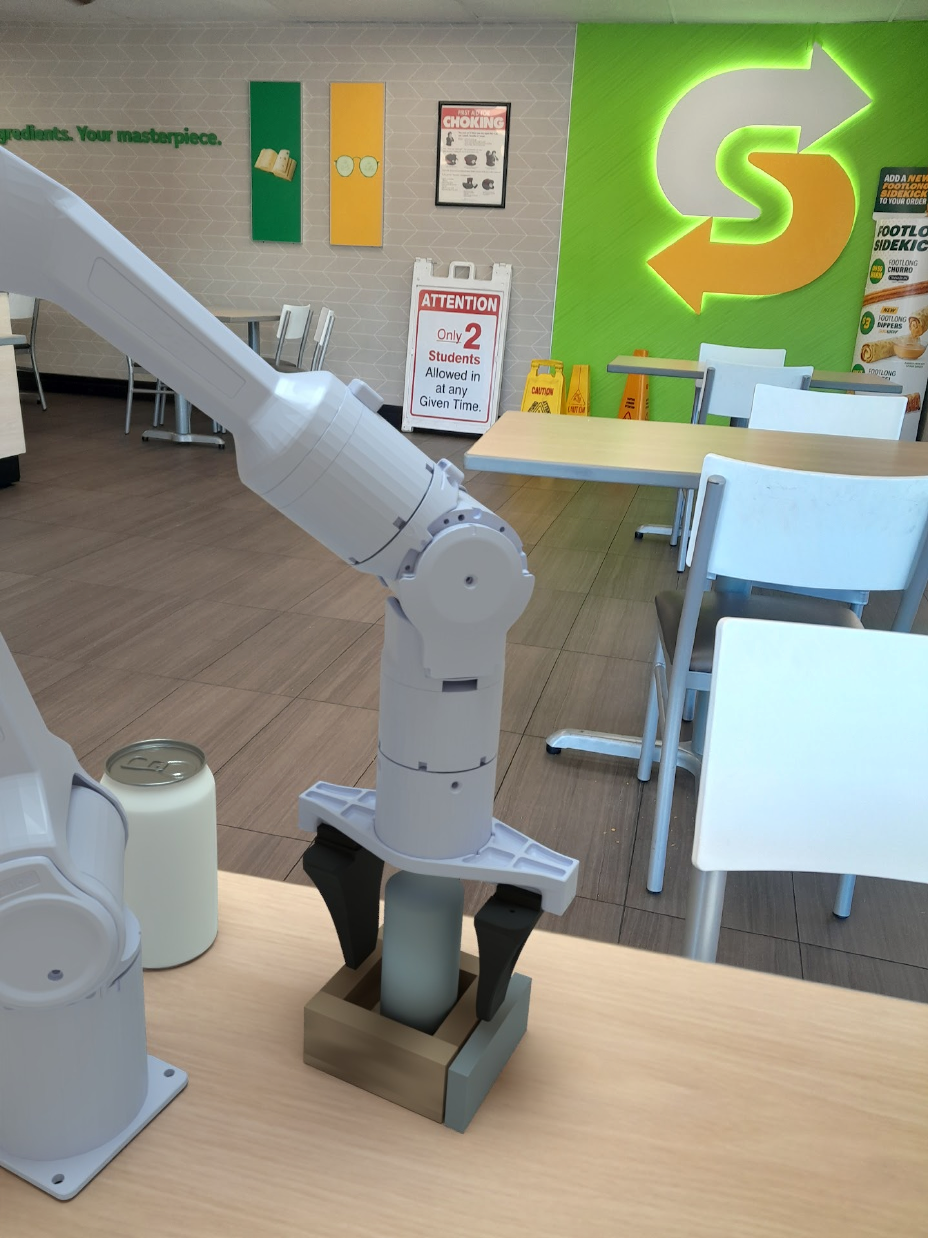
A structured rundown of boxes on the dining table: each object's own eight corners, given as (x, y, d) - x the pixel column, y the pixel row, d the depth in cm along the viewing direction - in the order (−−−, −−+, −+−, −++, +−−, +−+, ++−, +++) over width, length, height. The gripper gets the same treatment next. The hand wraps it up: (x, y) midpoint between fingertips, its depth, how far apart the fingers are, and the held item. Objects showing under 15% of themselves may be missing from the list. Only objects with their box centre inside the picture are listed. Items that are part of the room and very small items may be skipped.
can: (189, 983, 56) (182, 796, 52) (85, 962, 57) (71, 777, 53) (236, 916, 62) (233, 744, 58) (141, 899, 63) (132, 728, 60)
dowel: (364, 1044, 52) (369, 897, 49) (402, 998, 55) (409, 858, 52) (432, 1073, 50) (442, 923, 47) (466, 1024, 54) (477, 881, 51)
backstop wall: (444, 1126, 48) (448, 1069, 47) (509, 1024, 55) (514, 972, 54) (462, 1135, 47) (467, 1077, 46) (526, 1031, 54) (532, 978, 53)
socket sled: (303, 1062, 51) (303, 1006, 50) (381, 973, 58) (384, 922, 57) (441, 1124, 48) (445, 1066, 47) (507, 1022, 55) (512, 969, 54)
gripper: (610, 751, 47) (581, 984, 52) (352, 684, 53) (346, 899, 58) (558, 815, 41) (530, 1073, 46) (273, 732, 47) (273, 968, 52)
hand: (423, 982), depth 51 cm, fingers open, 7 cm apart
